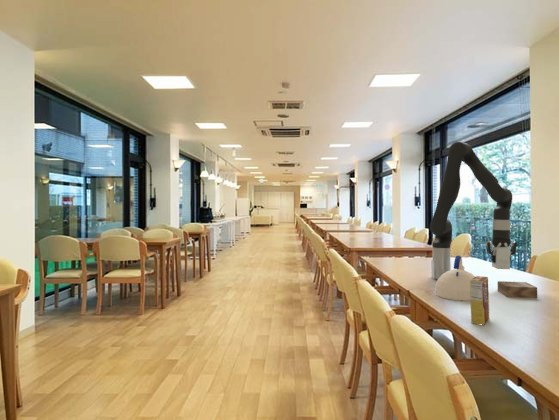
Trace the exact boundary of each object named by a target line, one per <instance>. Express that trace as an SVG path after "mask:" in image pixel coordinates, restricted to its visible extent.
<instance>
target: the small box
mask: <svg viewBox="0 0 559 420" xmlns="http://www.w3.org/2000/svg"><path fill="white" fill-rule="evenodd" d="M493 247H494V245H491V250H492V249H493ZM495 248H496V247H494V249H495ZM510 251H511V248H510V247H509V246H508V247H497V248H496V254H495V256H496V263H493V262H492V261H491V267H492V268H494V269H496V270H510V269H511V261H510Z"/></svg>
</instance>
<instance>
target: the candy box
mask: <svg viewBox="0 0 559 420" xmlns="http://www.w3.org/2000/svg"><path fill="white" fill-rule="evenodd" d="M470 295H471V301H470V321H471V324H472V323H475V324H474V325H477V324H482V325H481V326H485V325H486V324H487V323H488V322H489V320H490V297H489V277H488V276H480V275H479V276H478V275H475V277H474V278H473V279H471V280H470ZM484 324H485V325H484Z"/></svg>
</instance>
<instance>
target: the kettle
mask: <svg viewBox="0 0 559 420" xmlns="http://www.w3.org/2000/svg"><path fill="white" fill-rule="evenodd" d="M474 277H476V275H474V274H472V273H471V272H469V271H467V270H465V266H464V265H463V257H462V256H461V255H456V256H455V257H454V262H453V269H451V270H450V271H447V272H445V273H444V274H442V275H441V276H440V277H439V279H436V280H437V281H436V283H435V289H434V294H435V295H436V296H437V297H439V298H442V299H447V300H454V301H461V300H463V301H464V302H465V301H466V302H467V301H469V302H471V295H470V280H471V279H473V278H474Z"/></svg>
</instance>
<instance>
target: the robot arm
mask: <svg viewBox="0 0 559 420" xmlns="http://www.w3.org/2000/svg"><path fill="white" fill-rule="evenodd" d="M447 153H448V154H447V161H446V166H445V171H444V174H443V179H442V182H441V185H440V190H439V195H438V199H437V203H436V205H435V206H436V207H435V210H434V213H433V215H432V219H431V222H430V224H429V230H430V233H432V235H435V237H434V240H433V241H432V242H431V243H432V244H431V245H432V247H431V249H432V259H431V261H430V262H431V278H432V279H434V280H438V279H439V277H440V276H441V275H442V274H444V273H445V272H447V271H450V270H452V269H451V246H452V241H453V226H452V222H451V221H450V220H449V219H448V218H449V214H450V211H451V210H452V208H453V206H454V205H455V203H456V201H457V199H458V197H459V194H460V188H461V174H460V173H461V165H462V162H463V163H464V164H466V165H467V167H469V169H470V170H471V172H472V174H473V176H474V177H475V179H476V180H477V181H478V183H480V185H481V186H482V187H483V188H484V189H485V191H486V193H487V195H489V197H490V198H491V199H492V200H493V201H494V202H496V207H495V208H494V209H493V213H492V214H493V215H492V216H493V221H492V239H491V240H490V241H485V248H486V253H487V254H488V255H490V259H491V260H490V261H491V263H492V262H493V263H496V256H495V254H496V248H497V247H508V248H509V247H510V246H511V248H510V262H511V261H512V260H511V259H512V258H511V257H512V256H514V255H515V254H516V250H517V246H518V242H516V241H511V220H510V219H511V215H510V214H511V213H510V212H511V207H512V202H513V194H512V191H511V190H510V189H508V188H503V187H502V186H501V184H499V180H498V178H497V177H496V176H495V175H494V174H493V173H492V172H491V171H490V170H489V169H488V167H487V166H486V165H484V163H483V162H482V161H481V159H480V158H479V157H478V156H477V154H476V152H475V151H474V149H473V147H472V146H471V145H470V144H469V143H466V142H462V141H455V142H453V143H452V144H451V145H450V147H449V149H448V152H447ZM492 246H494V247H496V248H495V249H494V247H493V249H492Z"/></svg>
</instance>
